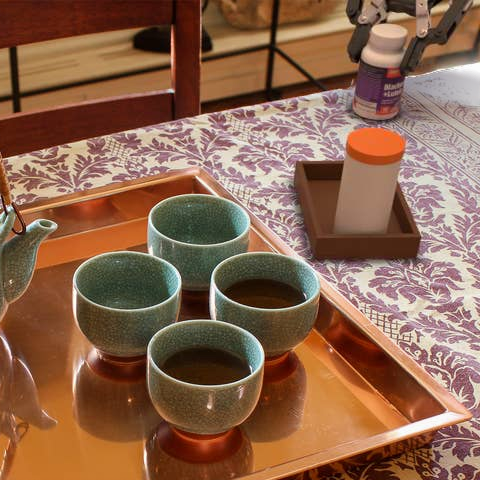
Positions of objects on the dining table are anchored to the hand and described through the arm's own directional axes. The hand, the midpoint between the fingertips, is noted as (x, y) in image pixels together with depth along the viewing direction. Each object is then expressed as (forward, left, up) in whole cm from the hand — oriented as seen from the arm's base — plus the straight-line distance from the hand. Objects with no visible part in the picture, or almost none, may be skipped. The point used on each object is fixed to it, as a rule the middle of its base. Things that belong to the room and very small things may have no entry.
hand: (378, 66), depth 106 cm
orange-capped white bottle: (+6, +25, -6) cm, 26 cm away
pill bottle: (-1, -1, -6) cm, 7 cm away
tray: (+6, +22, -6) cm, 23 cm away
